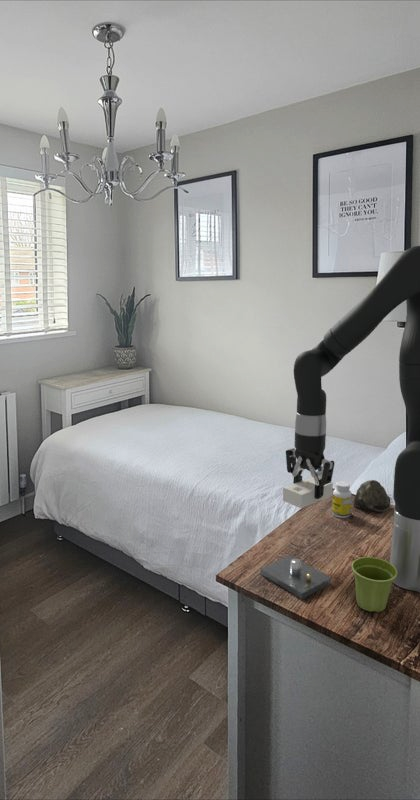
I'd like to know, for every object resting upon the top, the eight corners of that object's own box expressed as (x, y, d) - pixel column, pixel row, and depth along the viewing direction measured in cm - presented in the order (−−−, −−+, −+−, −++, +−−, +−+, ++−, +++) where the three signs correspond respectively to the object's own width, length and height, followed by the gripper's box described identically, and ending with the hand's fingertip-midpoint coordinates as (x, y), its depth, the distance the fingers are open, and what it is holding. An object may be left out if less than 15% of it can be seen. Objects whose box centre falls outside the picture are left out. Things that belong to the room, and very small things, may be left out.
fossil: (382, 516, 154) (368, 485, 154) (355, 522, 160) (342, 492, 160) (395, 503, 162) (382, 473, 162) (369, 509, 168) (356, 480, 168)
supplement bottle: (328, 511, 158) (330, 481, 156) (344, 509, 160) (346, 479, 158) (337, 519, 153) (339, 488, 151) (353, 517, 155) (356, 486, 152)
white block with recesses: (313, 488, 139) (314, 476, 138) (332, 495, 135) (332, 482, 134) (282, 500, 132) (283, 487, 131) (301, 508, 127) (301, 494, 126)
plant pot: (402, 604, 113) (405, 568, 111) (380, 624, 107) (383, 586, 105) (363, 586, 120) (365, 552, 118) (340, 604, 113) (343, 567, 111)
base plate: (331, 583, 121) (332, 565, 120) (301, 599, 115) (302, 581, 114) (289, 560, 131) (290, 544, 130) (260, 574, 125) (261, 557, 124)
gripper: (343, 433, 126) (340, 499, 130) (298, 421, 137) (296, 482, 141) (324, 439, 121) (320, 507, 125) (278, 427, 132) (276, 489, 136)
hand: (307, 493), depth 133 cm, fingers closed on white block with recesses, 6 cm apart
